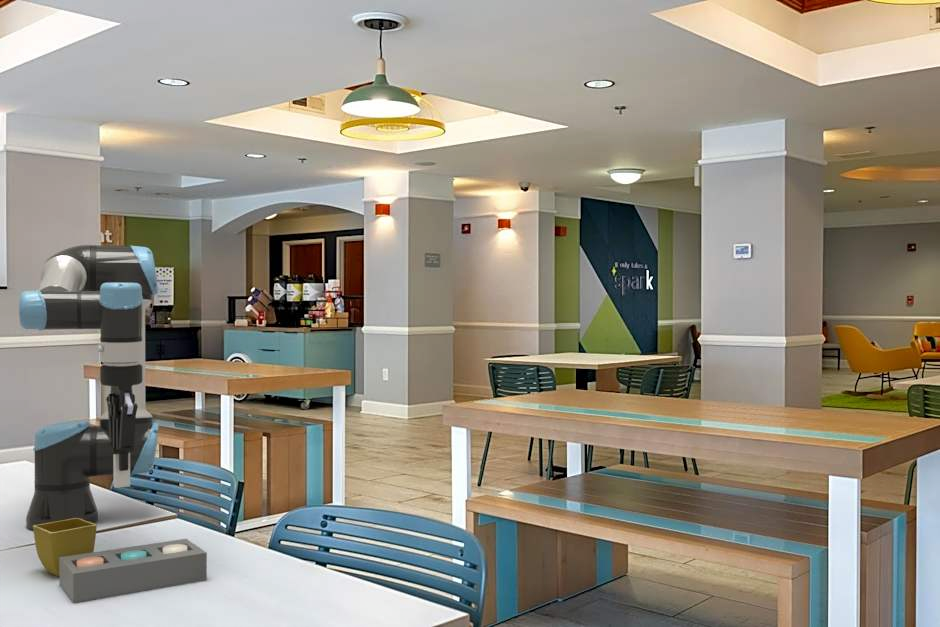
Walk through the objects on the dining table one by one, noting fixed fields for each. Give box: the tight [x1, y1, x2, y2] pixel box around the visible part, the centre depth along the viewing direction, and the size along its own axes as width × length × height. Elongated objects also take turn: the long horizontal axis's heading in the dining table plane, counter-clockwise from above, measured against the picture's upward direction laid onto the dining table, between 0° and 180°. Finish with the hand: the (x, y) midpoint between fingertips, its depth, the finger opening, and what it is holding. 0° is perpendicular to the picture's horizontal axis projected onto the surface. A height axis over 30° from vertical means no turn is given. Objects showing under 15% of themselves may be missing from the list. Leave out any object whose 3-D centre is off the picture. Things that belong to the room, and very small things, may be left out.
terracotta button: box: [77, 557, 104, 568], centre depth 162 cm, size 4×4×3 cm
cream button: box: [163, 544, 187, 554], centre depth 170 cm, size 4×4×3 cm
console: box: [58, 538, 208, 604], centre depth 166 cm, size 12×23×5 cm, turn 125°
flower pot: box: [32, 518, 98, 577], centre depth 173 cm, size 9×9×9 cm
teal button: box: [121, 550, 146, 561], centre depth 166 cm, size 4×4×3 cm
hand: (121, 486), depth 174 cm, fingers closed
